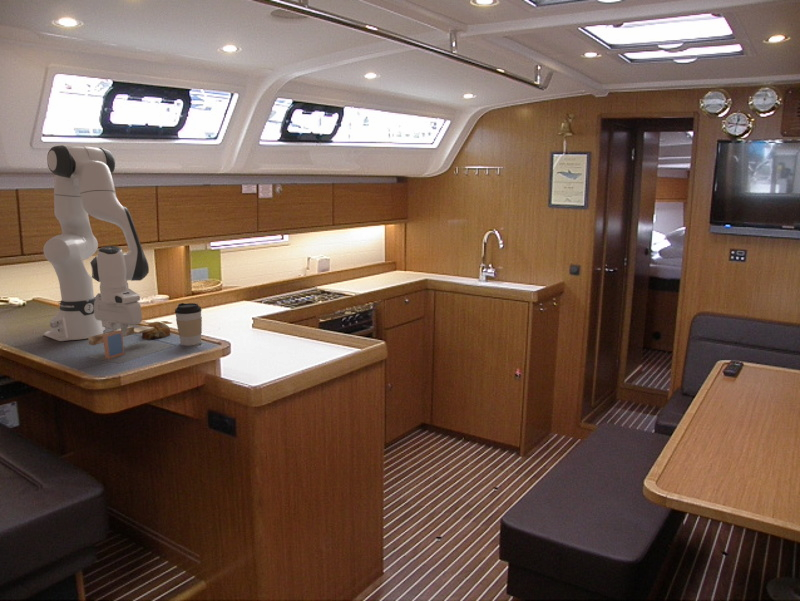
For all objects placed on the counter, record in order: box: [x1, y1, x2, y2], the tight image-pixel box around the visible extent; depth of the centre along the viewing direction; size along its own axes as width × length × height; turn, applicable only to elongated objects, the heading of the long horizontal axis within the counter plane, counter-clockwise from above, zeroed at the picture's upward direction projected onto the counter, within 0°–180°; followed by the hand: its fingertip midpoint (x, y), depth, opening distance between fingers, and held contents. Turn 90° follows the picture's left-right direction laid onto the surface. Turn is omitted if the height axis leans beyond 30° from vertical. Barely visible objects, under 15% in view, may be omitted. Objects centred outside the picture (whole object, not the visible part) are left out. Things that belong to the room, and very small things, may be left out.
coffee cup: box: [174, 302, 203, 348], centre depth 227 cm, size 9×9×15 cm
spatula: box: [87, 325, 154, 346], centre depth 221 cm, size 23×6×2 cm, turn 151°
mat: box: [88, 339, 177, 365], centre depth 219 cm, size 16×23×1 cm
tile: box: [103, 331, 125, 359], centre depth 213 cm, size 2×6×8 cm, turn 151°
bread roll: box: [141, 321, 171, 340], centre depth 240 cm, size 10×10×8 cm
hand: (119, 334), depth 220 cm, fingers closed on spatula, 2 cm apart
